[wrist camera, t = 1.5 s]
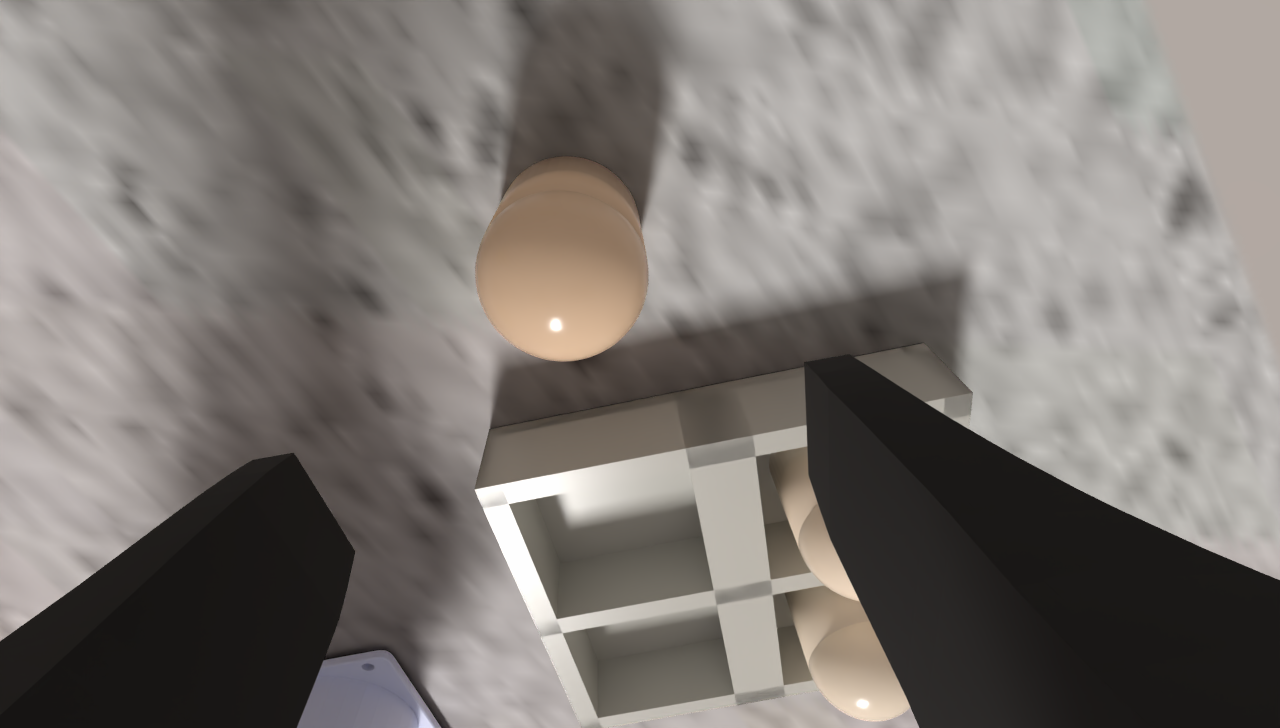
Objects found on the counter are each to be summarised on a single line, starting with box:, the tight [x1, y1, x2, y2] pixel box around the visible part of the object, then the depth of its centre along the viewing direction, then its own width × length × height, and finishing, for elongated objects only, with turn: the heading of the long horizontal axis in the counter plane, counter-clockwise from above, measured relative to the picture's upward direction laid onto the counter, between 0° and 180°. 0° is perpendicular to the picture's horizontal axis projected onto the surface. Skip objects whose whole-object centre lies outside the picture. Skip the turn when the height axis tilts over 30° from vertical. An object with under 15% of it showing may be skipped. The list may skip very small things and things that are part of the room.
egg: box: [475, 156, 648, 361], centre depth 15 cm, size 4×4×6 cm
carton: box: [474, 343, 973, 728], centre depth 22 cm, size 15×14×3 cm
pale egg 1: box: [769, 447, 859, 601], centre depth 19 cm, size 4×4×6 cm
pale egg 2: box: [784, 585, 910, 722], centre depth 22 cm, size 4×4×6 cm
